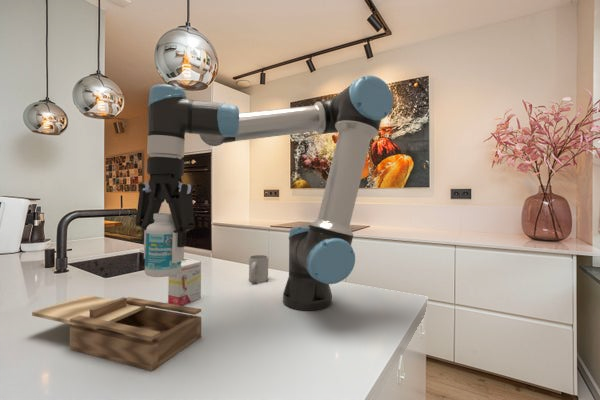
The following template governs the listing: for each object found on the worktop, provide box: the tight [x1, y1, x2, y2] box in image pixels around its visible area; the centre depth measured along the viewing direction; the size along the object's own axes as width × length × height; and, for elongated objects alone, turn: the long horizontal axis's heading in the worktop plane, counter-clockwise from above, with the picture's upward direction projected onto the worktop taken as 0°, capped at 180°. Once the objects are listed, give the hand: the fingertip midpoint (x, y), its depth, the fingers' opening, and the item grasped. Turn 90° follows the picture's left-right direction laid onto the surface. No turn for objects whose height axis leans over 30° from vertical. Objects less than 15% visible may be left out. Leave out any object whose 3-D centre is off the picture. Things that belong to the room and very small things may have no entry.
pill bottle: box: [144, 212, 181, 278], centre depth 66 cm, size 8×7×14 cm
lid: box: [31, 294, 147, 330], centre depth 69 cm, size 20×12×3 cm, turn 71°
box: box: [69, 296, 202, 372], centre depth 64 cm, size 22×14×6 cm, turn 71°
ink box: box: [167, 259, 202, 306], centre depth 90 cm, size 9×5×12 cm, turn 151°
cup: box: [248, 254, 269, 284], centre depth 110 cm, size 7×10×9 cm
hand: (163, 259), depth 66 cm, fingers closed on pill bottle, 7 cm apart
